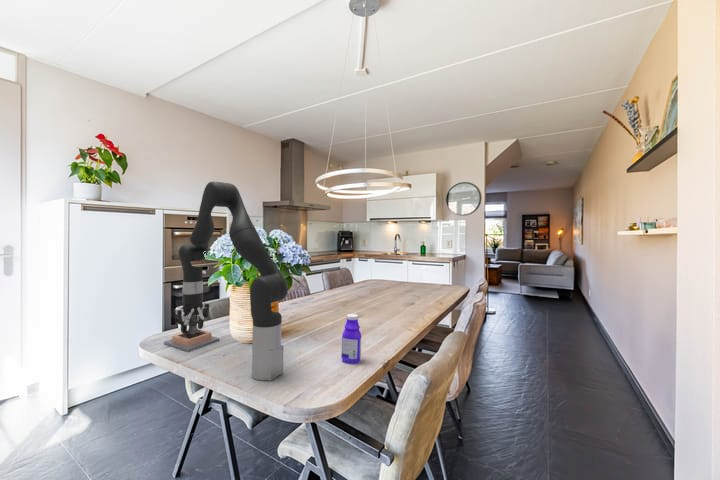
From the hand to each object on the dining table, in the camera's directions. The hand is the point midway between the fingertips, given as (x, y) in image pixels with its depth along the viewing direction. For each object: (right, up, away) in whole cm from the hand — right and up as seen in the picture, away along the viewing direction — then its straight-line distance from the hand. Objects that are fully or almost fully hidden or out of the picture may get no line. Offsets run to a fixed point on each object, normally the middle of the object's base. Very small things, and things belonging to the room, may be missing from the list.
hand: (192, 330), depth 122 cm
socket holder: (0, -5, 0) cm, 5 cm away
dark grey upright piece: (0, -4, 0) cm, 4 cm away
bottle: (+68, -7, -14) cm, 69 cm away
